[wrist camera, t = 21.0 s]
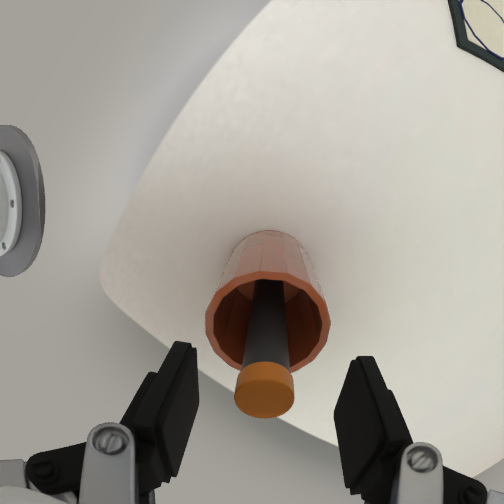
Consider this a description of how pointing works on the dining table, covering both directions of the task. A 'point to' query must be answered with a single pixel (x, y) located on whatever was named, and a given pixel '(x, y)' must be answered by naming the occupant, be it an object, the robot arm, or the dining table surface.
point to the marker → (266, 355)
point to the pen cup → (241, 293)
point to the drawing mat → (480, 28)
